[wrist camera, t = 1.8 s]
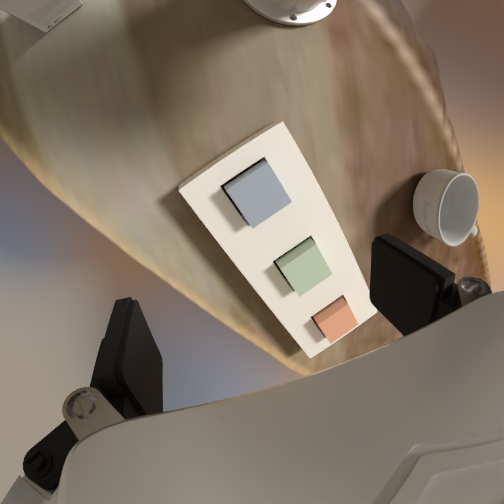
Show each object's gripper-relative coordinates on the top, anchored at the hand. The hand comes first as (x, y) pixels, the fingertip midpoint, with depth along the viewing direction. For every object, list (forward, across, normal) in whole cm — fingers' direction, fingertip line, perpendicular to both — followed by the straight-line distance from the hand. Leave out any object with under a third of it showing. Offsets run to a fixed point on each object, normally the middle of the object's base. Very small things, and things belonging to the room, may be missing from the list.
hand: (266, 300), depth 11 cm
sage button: (+22, -9, +11) cm, 26 cm away
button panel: (+24, -9, +11) cm, 28 cm away
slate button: (+22, -5, +1) cm, 22 cm away
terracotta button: (+22, -14, +21) cm, 33 cm away
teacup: (+24, -34, +8) cm, 43 cm away
